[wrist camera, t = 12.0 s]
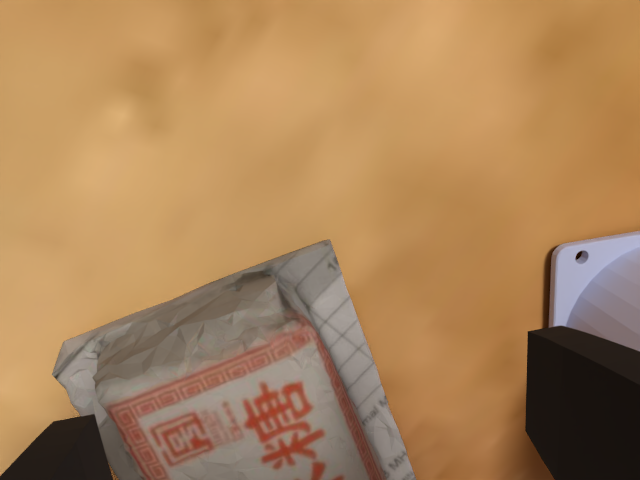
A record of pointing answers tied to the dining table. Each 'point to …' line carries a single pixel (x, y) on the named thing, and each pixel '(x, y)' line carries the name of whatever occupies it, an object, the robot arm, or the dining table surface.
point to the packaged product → (240, 382)
